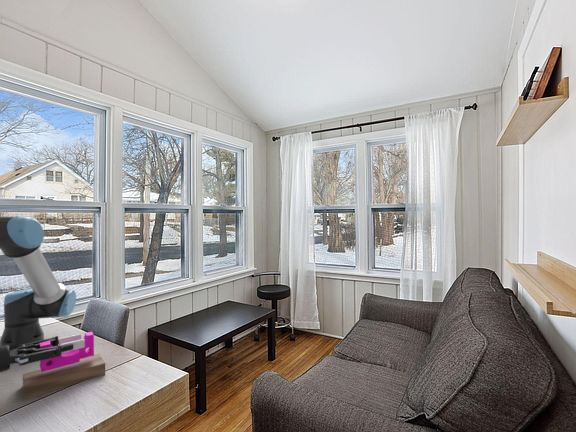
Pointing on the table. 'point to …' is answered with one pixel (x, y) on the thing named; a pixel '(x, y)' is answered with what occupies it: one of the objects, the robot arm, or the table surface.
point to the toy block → (68, 354)
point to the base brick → (62, 376)
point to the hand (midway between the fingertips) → (82, 340)
